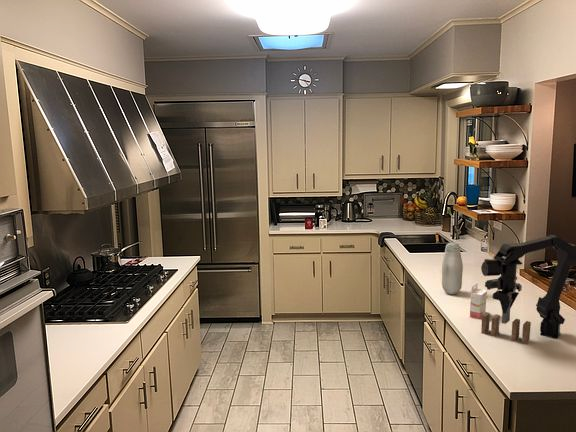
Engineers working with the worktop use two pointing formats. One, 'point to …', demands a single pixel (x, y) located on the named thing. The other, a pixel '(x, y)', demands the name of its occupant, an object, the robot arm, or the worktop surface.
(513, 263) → the robot arm
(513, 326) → the domino
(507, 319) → the gray domino
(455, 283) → the gray bottle
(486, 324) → the domino
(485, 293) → the ink cartridge box
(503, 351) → the worktop surface
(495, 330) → the domino
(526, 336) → the domino
